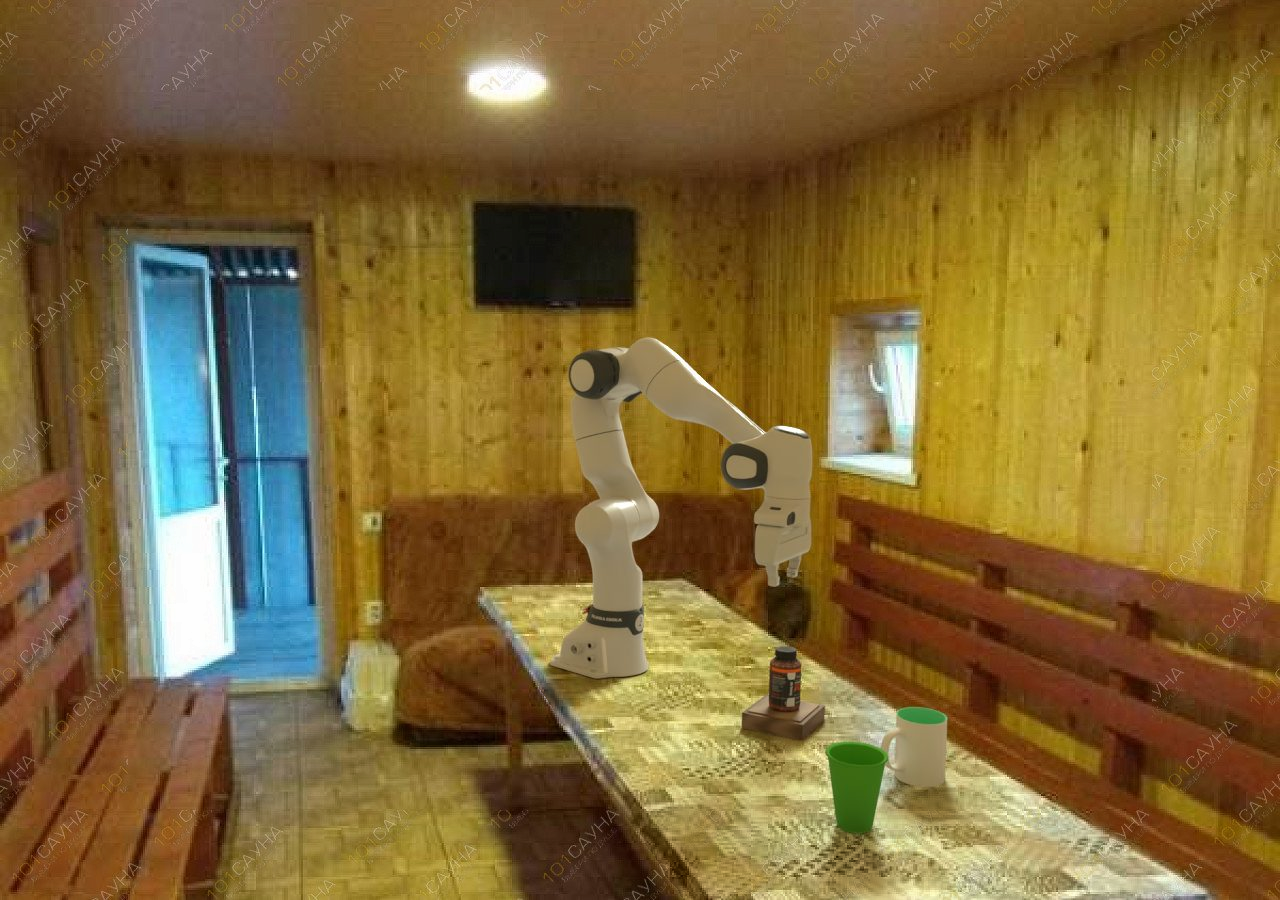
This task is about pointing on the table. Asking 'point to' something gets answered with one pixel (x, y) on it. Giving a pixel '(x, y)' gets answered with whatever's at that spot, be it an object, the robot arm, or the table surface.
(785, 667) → the supplement bottle
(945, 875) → the table surface
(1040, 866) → the table surface
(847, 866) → the table surface
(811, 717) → the brown box
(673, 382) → the robot arm
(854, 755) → the cup
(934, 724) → the mug
